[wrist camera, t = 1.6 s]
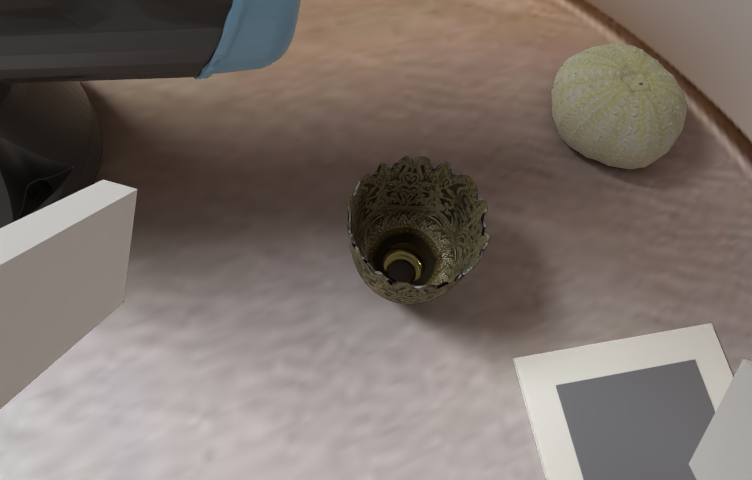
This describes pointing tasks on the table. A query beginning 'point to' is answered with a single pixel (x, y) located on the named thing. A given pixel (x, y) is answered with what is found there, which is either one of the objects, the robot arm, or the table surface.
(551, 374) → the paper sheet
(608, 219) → the table surface
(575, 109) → the sea urchin shell
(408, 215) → the cup
